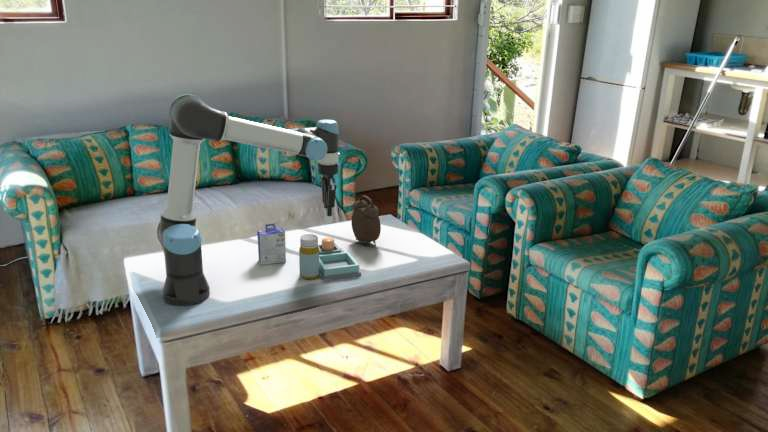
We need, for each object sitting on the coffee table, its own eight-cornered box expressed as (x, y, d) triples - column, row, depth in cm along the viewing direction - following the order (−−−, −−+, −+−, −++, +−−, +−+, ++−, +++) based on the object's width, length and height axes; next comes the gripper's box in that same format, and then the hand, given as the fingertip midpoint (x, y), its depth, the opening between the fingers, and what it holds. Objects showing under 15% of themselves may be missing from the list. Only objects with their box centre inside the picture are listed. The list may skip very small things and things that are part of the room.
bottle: (323, 275, 241) (323, 236, 236) (311, 281, 235) (310, 242, 230) (307, 270, 244) (307, 232, 239) (295, 276, 239) (295, 238, 234)
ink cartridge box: (283, 256, 255) (282, 221, 251) (286, 262, 251) (286, 226, 246) (257, 260, 252) (256, 224, 247) (260, 265, 247) (259, 229, 242)
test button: (323, 255, 252) (323, 243, 250) (320, 250, 256) (320, 238, 255) (335, 253, 254) (335, 241, 252) (332, 249, 258) (332, 237, 256)
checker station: (324, 280, 237) (323, 269, 235) (307, 254, 258) (306, 244, 256) (361, 275, 241) (361, 264, 240) (341, 250, 263) (341, 241, 261)
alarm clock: (383, 247, 267) (384, 200, 260) (367, 250, 263) (368, 202, 257) (364, 235, 279) (365, 190, 272) (349, 238, 275) (350, 192, 268)
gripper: (343, 166, 239) (343, 227, 247) (332, 157, 250) (333, 216, 258) (323, 167, 236) (323, 230, 244) (313, 158, 248) (314, 218, 256)
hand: (328, 222), depth 251 cm, fingers closed
